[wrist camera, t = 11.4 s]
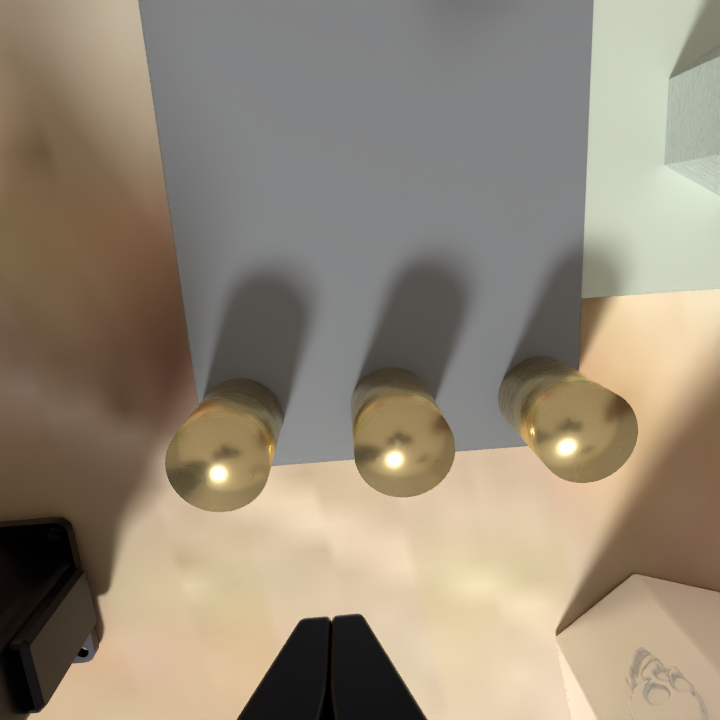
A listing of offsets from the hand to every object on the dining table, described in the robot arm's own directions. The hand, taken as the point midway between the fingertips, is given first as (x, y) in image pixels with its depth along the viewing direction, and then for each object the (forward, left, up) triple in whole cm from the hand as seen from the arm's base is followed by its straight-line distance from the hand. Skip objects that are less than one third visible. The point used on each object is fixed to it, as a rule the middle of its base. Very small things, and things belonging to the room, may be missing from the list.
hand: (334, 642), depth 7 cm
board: (+2, +8, -13) cm, 15 cm away
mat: (+13, +8, -13) cm, 20 cm away
